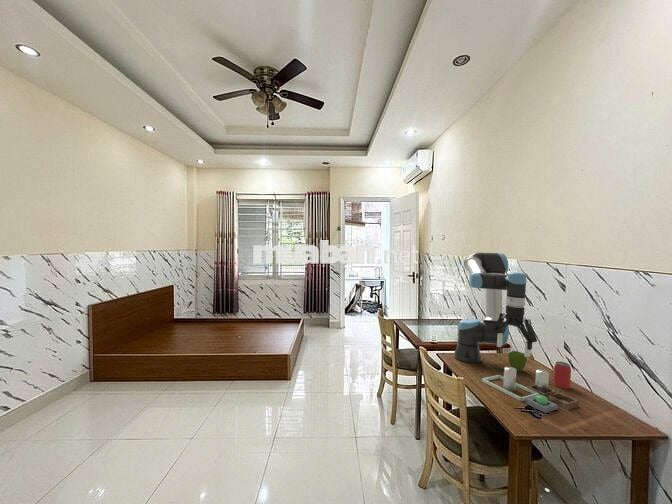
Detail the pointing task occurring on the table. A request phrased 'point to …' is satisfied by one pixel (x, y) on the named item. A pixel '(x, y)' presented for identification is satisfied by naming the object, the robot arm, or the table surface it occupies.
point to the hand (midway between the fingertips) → (512, 351)
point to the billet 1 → (509, 378)
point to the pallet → (558, 398)
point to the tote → (486, 380)
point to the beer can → (562, 375)
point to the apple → (517, 360)
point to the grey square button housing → (545, 409)
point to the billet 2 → (542, 380)
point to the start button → (541, 399)
